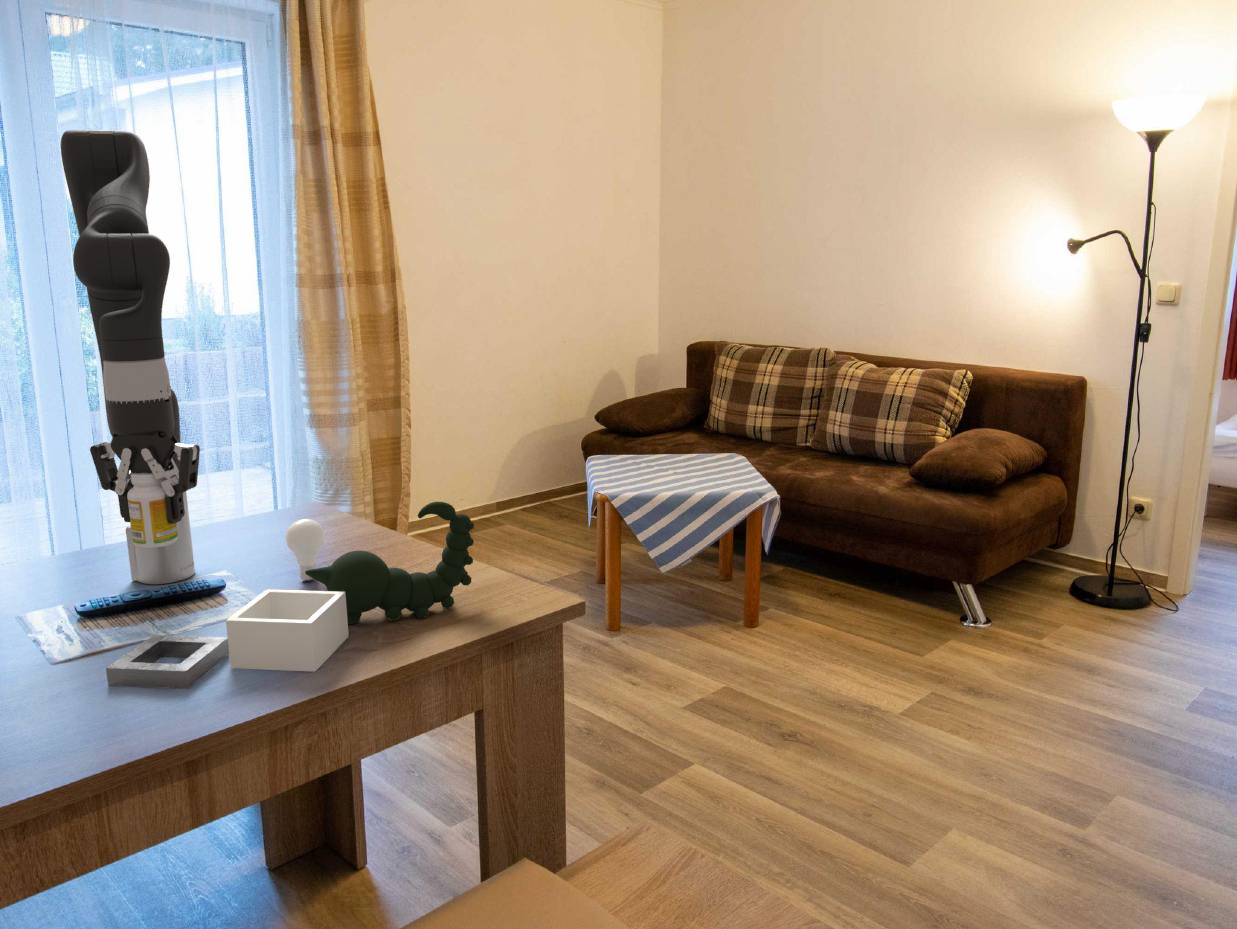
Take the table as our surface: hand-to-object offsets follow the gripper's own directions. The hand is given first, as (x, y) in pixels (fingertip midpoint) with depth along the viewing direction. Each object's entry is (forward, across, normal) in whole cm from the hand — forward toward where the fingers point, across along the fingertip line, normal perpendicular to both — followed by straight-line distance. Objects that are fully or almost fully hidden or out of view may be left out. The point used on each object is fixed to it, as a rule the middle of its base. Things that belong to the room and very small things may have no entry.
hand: (153, 520), depth 125 cm
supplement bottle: (+3, 0, 0) cm, 3 cm away
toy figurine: (+21, +24, +21) cm, 39 cm away
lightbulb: (+21, +4, +36) cm, 42 cm away
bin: (+21, +14, +7) cm, 26 cm away
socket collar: (+21, 0, 0) cm, 21 cm away
